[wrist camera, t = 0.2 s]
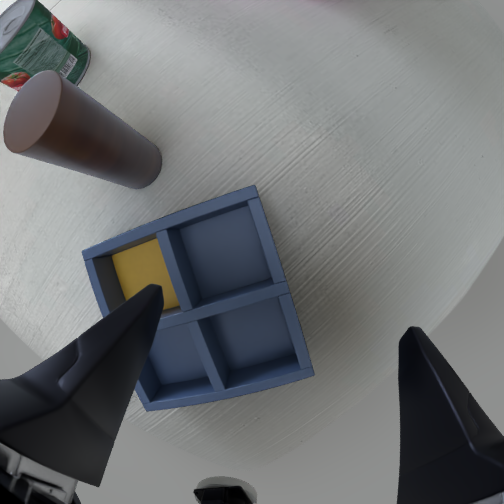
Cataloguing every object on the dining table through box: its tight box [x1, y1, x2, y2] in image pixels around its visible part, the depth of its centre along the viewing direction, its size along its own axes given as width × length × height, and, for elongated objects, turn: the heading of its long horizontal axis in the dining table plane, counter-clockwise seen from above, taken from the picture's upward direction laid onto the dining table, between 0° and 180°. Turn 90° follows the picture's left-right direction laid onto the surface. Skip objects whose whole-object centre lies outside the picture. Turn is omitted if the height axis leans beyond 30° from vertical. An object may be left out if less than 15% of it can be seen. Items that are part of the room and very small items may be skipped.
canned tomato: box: [0, 0, 90, 91], centre depth 16 cm, size 8×8×11 cm
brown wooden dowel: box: [3, 70, 162, 189], centre depth 15 cm, size 4×4×13 cm
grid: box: [82, 185, 315, 411], centre depth 20 cm, size 13×13×4 cm
